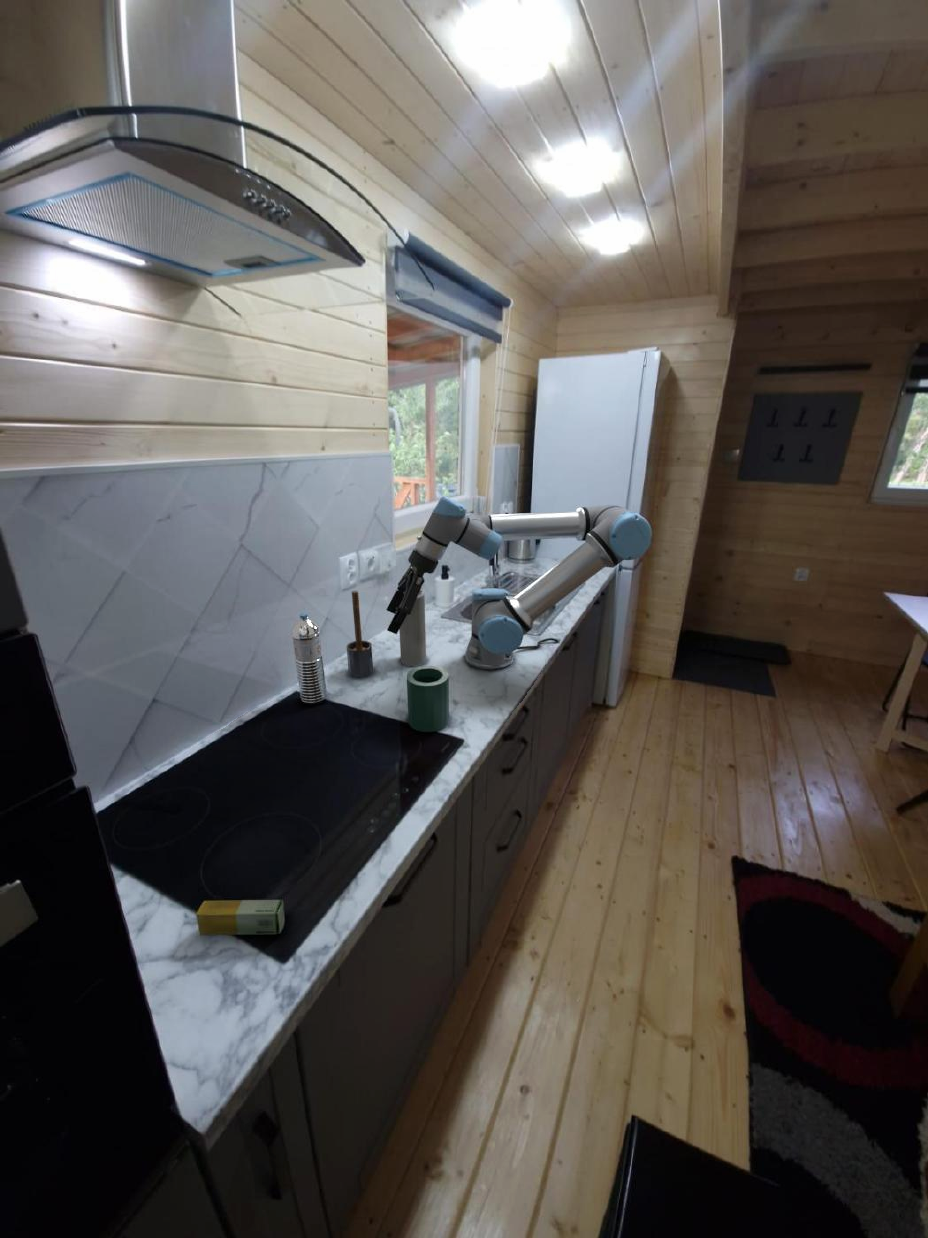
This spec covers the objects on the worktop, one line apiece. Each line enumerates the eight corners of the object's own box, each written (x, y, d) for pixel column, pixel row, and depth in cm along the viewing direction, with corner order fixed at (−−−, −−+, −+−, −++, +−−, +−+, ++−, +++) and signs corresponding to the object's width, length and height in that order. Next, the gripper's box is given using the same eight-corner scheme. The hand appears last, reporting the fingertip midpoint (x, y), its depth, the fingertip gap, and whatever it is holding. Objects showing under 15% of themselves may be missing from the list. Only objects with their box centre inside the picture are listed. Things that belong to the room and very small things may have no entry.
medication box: (286, 919, 76) (284, 898, 75) (280, 935, 73) (278, 914, 72) (206, 920, 75) (203, 899, 74) (197, 936, 73) (194, 914, 72)
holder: (373, 666, 153) (371, 639, 149) (373, 677, 146) (371, 650, 142) (349, 667, 152) (347, 641, 148) (348, 679, 145) (345, 651, 141)
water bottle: (319, 708, 131) (309, 620, 121) (296, 705, 132) (283, 618, 122) (331, 694, 137) (322, 610, 127) (308, 692, 138) (297, 608, 128)
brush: (367, 667, 150) (361, 589, 141) (367, 672, 147) (361, 593, 138) (355, 667, 150) (348, 589, 140) (354, 673, 147) (347, 593, 137)
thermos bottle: (398, 656, 159) (394, 573, 148) (422, 653, 161) (420, 570, 150) (403, 667, 152) (399, 580, 141) (428, 664, 154) (427, 578, 144)
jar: (446, 708, 131) (445, 664, 126) (450, 730, 122) (450, 684, 117) (407, 711, 130) (405, 667, 125) (409, 733, 120) (407, 687, 115)
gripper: (411, 536, 139) (378, 599, 145) (417, 562, 117) (378, 635, 123) (434, 547, 142) (401, 609, 148) (445, 575, 119) (405, 647, 125)
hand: (391, 621), depth 135 cm, fingers open, 13 cm apart
